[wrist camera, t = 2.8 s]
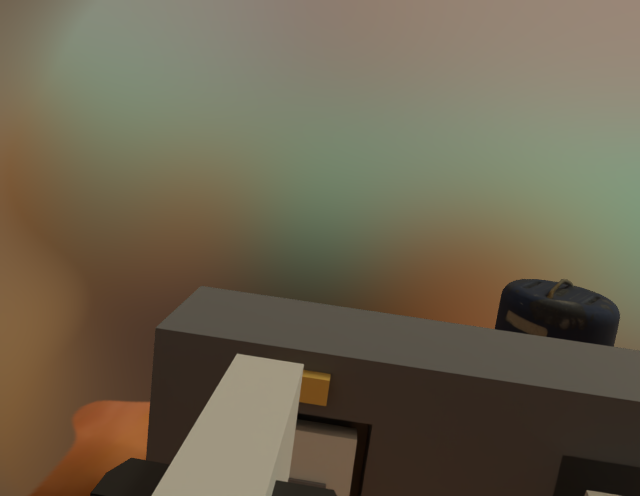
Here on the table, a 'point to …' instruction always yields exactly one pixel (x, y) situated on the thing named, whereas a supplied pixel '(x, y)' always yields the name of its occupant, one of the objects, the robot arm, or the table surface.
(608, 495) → the right rocker
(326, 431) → the left rocker
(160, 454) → the switch panel
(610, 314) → the canister
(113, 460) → the table surface
